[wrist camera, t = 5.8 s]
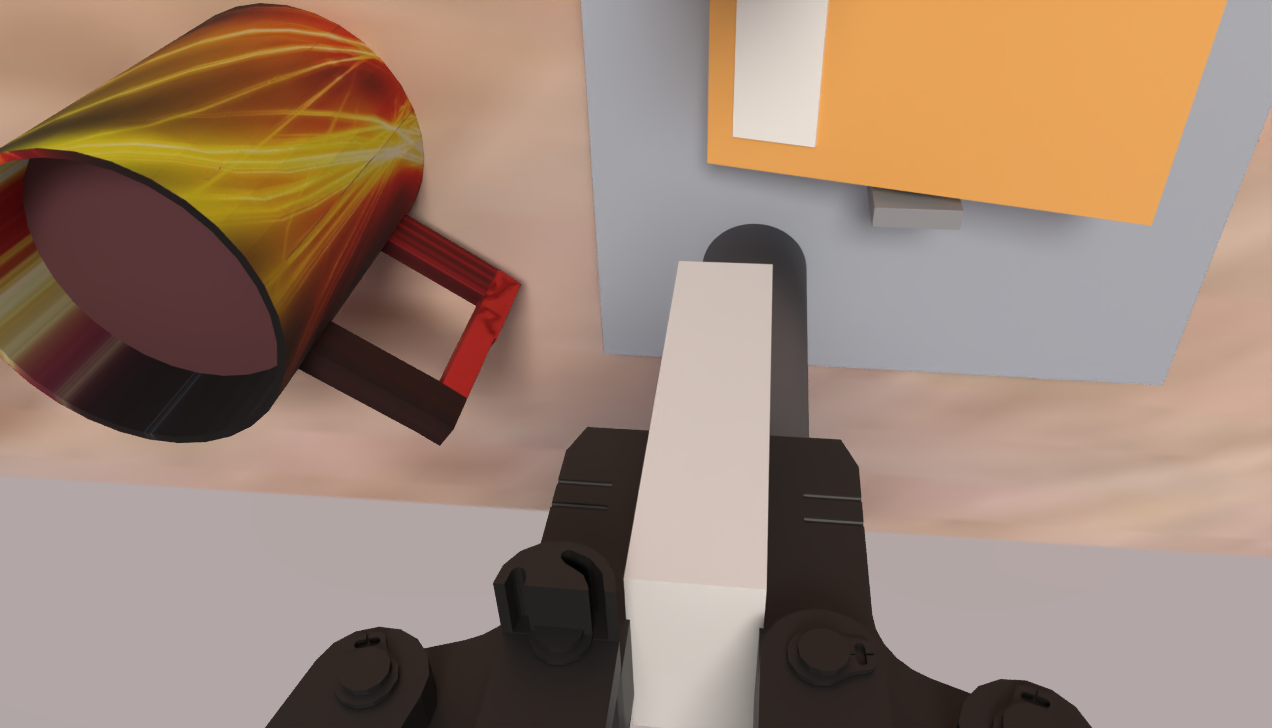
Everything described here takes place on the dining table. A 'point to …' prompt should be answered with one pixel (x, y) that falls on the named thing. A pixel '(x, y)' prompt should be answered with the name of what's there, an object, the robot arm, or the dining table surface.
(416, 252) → the mug
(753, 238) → the cylinder
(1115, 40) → the paddle
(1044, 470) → the dining table surface
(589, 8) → the panel
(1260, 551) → the dining table surface
